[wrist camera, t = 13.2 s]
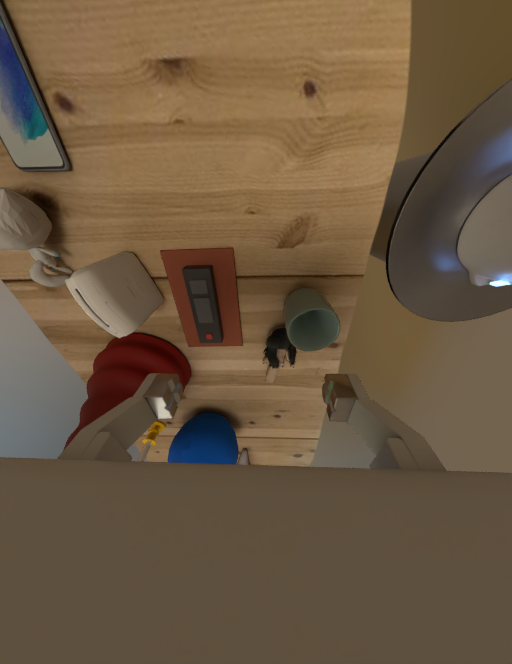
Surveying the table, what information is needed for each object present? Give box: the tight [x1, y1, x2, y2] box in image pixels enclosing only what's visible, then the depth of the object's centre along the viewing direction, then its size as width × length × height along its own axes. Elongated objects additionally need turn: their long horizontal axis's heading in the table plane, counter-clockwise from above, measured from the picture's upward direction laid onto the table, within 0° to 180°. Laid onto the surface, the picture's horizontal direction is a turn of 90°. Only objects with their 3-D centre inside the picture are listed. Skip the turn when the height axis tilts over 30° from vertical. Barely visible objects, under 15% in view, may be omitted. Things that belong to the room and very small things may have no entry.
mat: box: [160, 248, 243, 347], centre depth 37 cm, size 12×20×1 cm, turn 2°
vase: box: [168, 412, 238, 465], centre depth 47 cm, size 18×18×30 cm
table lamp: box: [63, 334, 191, 451], centre depth 28 cm, size 20×20×45 cm
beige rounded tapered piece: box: [0, 187, 73, 287], centre depth 29 cm, size 10×8×15 cm
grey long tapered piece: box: [238, 449, 249, 465], centre depth 74 cm, size 8×9×26 cm
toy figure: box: [263, 327, 297, 383], centre depth 41 cm, size 7×6×15 cm
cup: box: [283, 288, 340, 351], centre depth 32 cm, size 8×8×10 cm
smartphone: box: [0, 2, 70, 171], centre depth 22 cm, size 7×1×15 cm
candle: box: [137, 421, 165, 462], centre depth 55 cm, size 5×5×16 cm
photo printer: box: [65, 252, 164, 338], centre depth 29 cm, size 10×4×12 cm, turn 19°
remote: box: [182, 265, 224, 343], centre depth 36 cm, size 15×5×2 cm, turn 2°
